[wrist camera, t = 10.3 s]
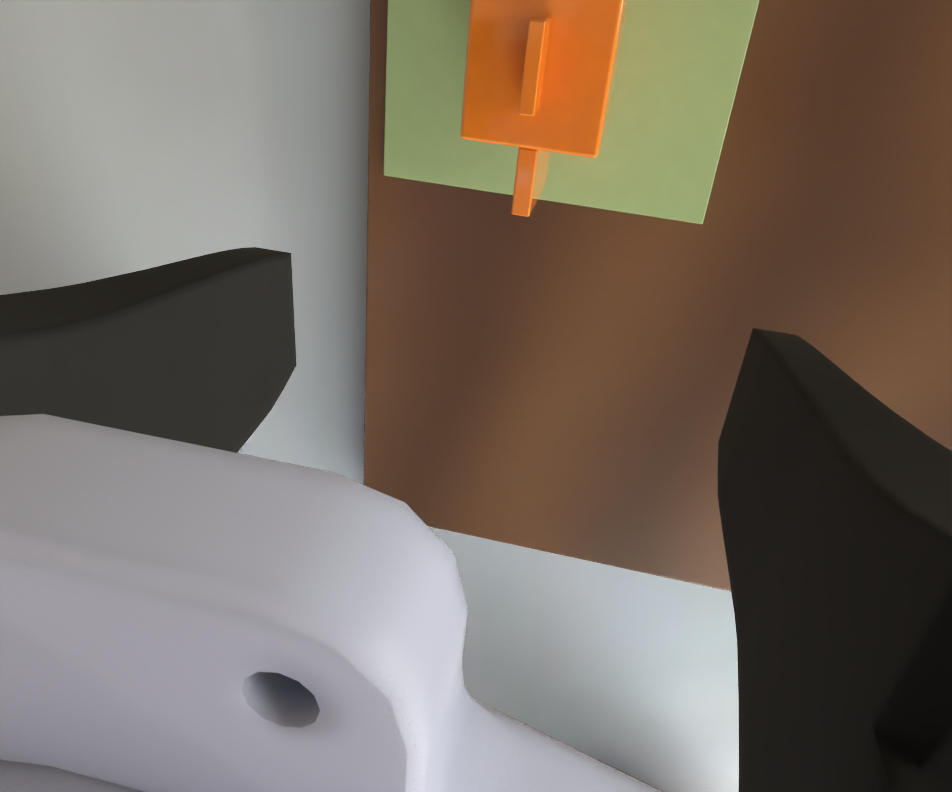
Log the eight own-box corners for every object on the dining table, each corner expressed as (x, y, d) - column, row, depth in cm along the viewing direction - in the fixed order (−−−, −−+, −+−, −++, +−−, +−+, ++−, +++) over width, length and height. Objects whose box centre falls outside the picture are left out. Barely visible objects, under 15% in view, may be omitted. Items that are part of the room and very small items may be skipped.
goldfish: (597, 186, 18) (582, 241, 15) (484, 169, 19) (444, 219, 16) (655, -142, 15) (650, -165, 12) (514, -155, 15) (472, -180, 12)
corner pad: (385, 173, 20) (383, 175, 20) (395, -224, 15) (393, -226, 15) (702, 222, 19) (702, 224, 18) (806, -191, 14) (808, -192, 14)
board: (372, 494, 27) (362, 512, 26) (388, -248, 16) (372, -258, 15) (984, 624, 24) (996, 649, 23) (1486, -164, 13) (1541, -171, 13)
